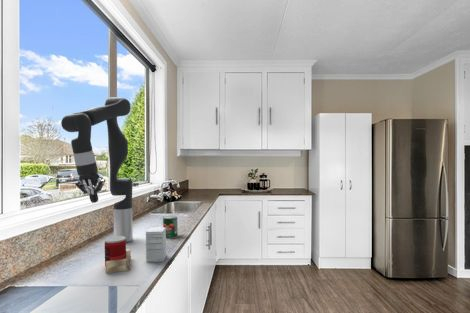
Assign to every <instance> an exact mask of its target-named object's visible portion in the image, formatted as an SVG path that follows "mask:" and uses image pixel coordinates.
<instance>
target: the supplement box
mask: <svg viewBox="0 0 470 313" xmlns="http://www.w3.org/2000/svg"><path fill="white" fill-rule="evenodd" d="M145 257H146V260H145V261H146V263H151V262H152V263H155V262H156V263H157V262H164V261H165V259H166V257H167V239H166V227H163V226H162V227H159V226H158V227H148V229H147V230H146V231H145Z"/></svg>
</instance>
